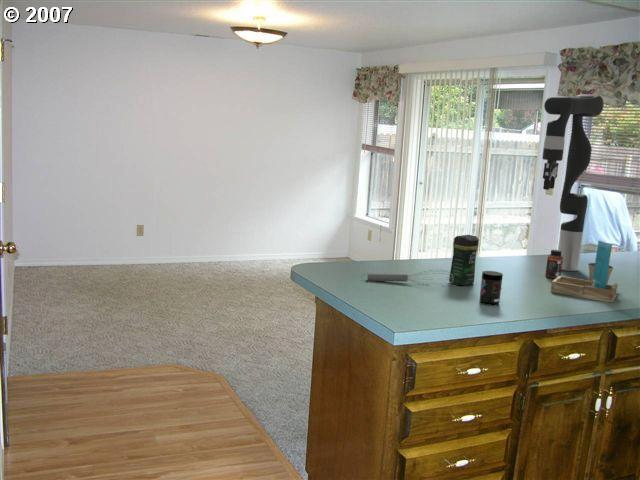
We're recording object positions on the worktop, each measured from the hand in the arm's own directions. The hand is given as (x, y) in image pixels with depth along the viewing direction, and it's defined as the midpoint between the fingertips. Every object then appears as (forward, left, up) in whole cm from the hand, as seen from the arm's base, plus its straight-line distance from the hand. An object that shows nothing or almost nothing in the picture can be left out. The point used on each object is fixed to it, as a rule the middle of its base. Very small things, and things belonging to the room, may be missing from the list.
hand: (548, 189), depth 263 cm
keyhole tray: (+16, +20, -36) cm, 44 cm away
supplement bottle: (-5, +5, -36) cm, 37 cm away
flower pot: (-1, +23, -36) cm, 43 cm away
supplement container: (+56, -3, -36) cm, 67 cm away
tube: (+16, +25, -35) cm, 46 cm away
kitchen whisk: (+51, -35, -37) cm, 72 cm away
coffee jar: (+35, -20, -36) cm, 54 cm away
